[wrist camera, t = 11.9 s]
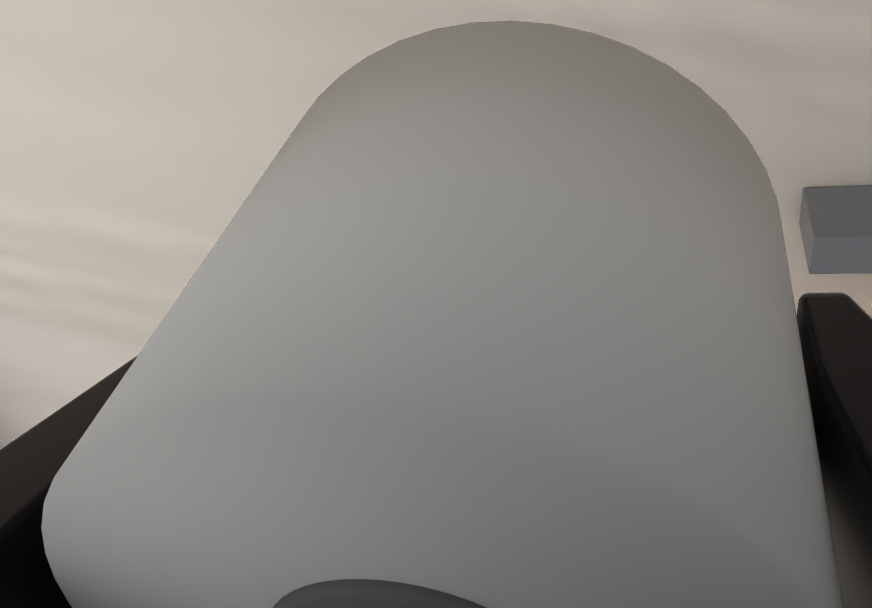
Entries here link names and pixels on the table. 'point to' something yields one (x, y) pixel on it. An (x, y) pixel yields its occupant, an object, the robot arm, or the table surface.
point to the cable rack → (837, 229)
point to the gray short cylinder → (471, 360)
